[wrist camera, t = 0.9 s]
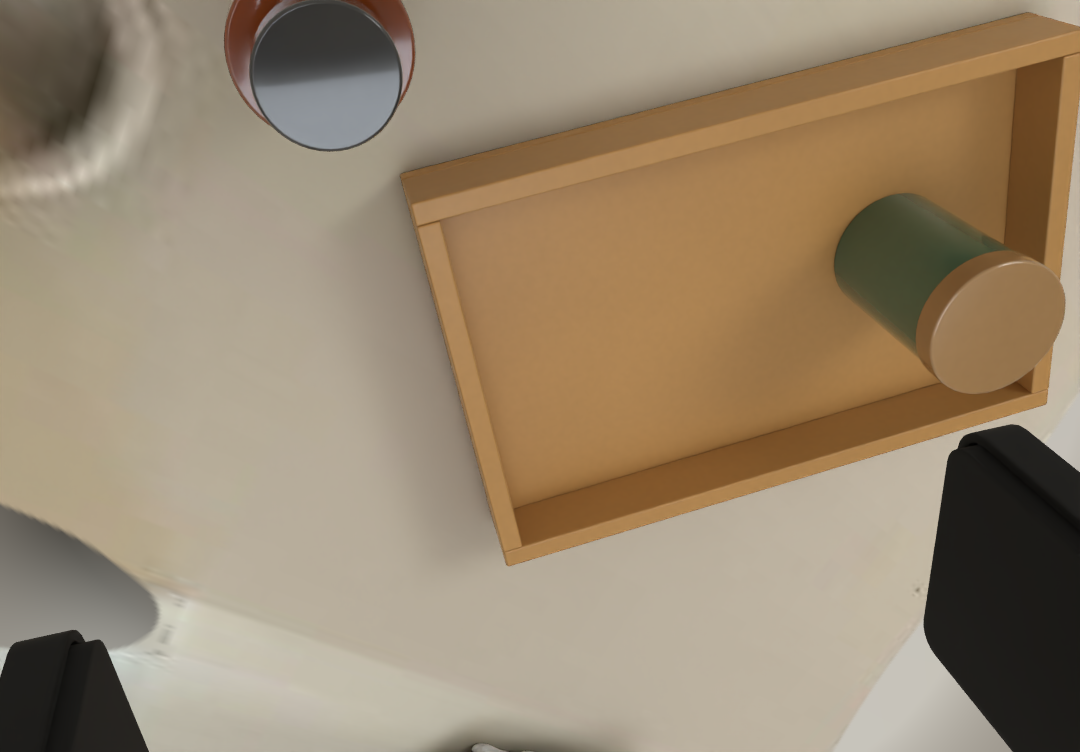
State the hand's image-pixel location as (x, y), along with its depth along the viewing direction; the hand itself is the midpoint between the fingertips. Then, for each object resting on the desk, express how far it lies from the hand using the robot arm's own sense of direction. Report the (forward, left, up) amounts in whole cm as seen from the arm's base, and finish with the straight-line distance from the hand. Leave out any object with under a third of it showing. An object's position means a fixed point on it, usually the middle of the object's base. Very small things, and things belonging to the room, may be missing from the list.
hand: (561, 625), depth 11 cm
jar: (+11, +18, -25) cm, 32 cm away
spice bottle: (-3, -1, -25) cm, 26 cm away
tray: (+11, +12, -25) cm, 30 cm away
